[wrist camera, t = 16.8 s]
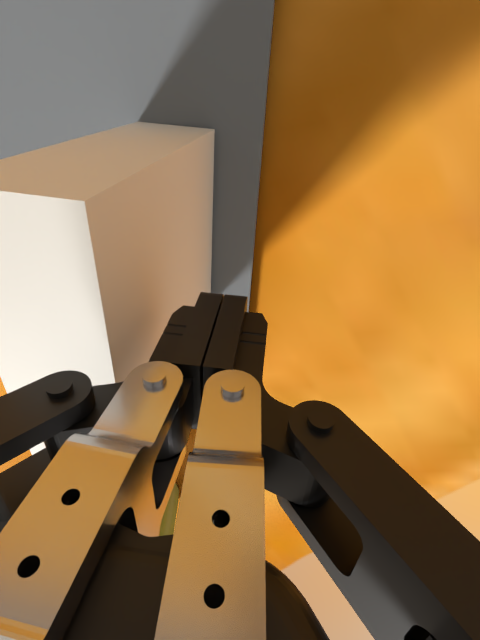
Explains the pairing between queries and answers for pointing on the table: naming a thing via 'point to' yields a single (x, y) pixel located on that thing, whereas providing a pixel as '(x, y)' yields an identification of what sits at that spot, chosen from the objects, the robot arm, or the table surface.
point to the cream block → (101, 249)
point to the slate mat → (147, 91)
